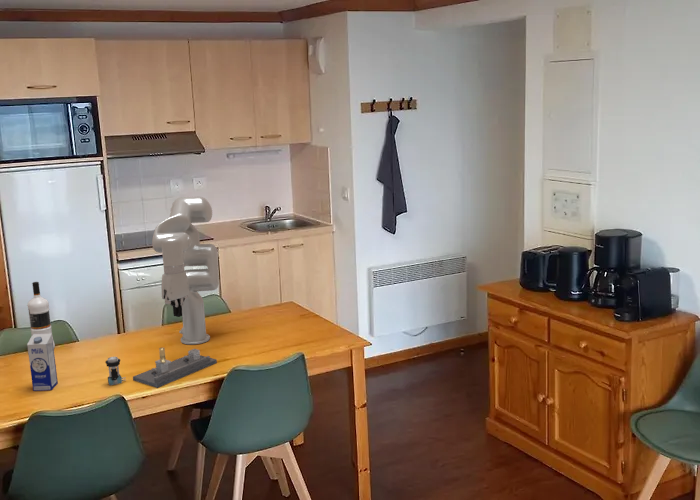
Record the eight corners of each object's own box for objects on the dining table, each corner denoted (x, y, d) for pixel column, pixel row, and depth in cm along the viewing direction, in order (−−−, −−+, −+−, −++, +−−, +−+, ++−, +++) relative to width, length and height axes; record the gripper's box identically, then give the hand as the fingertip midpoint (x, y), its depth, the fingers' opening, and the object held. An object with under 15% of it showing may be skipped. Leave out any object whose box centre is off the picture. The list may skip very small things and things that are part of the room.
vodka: (55, 351, 320) (46, 283, 313) (31, 354, 317) (22, 285, 310) (55, 344, 328) (47, 278, 322) (32, 347, 325) (24, 280, 319)
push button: (124, 379, 286) (122, 354, 283) (127, 383, 281) (125, 358, 279) (106, 382, 283) (103, 357, 280) (109, 387, 278) (106, 361, 276)
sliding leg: (149, 373, 286) (147, 346, 284) (156, 370, 288) (153, 344, 286) (165, 377, 281) (162, 350, 278) (171, 375, 283) (169, 348, 281)
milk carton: (58, 383, 284) (52, 332, 279) (52, 390, 277) (45, 338, 273) (39, 384, 283) (33, 333, 279) (32, 391, 277) (26, 339, 273)
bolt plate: (133, 380, 284) (131, 364, 283) (192, 356, 307) (191, 341, 306) (157, 388, 276) (155, 371, 274) (216, 363, 299) (215, 347, 298)
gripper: (182, 264, 290) (186, 309, 294) (151, 272, 278) (156, 319, 282) (195, 266, 286) (199, 312, 290) (165, 275, 274) (169, 322, 278)
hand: (178, 315), depth 286 cm, fingers closed
